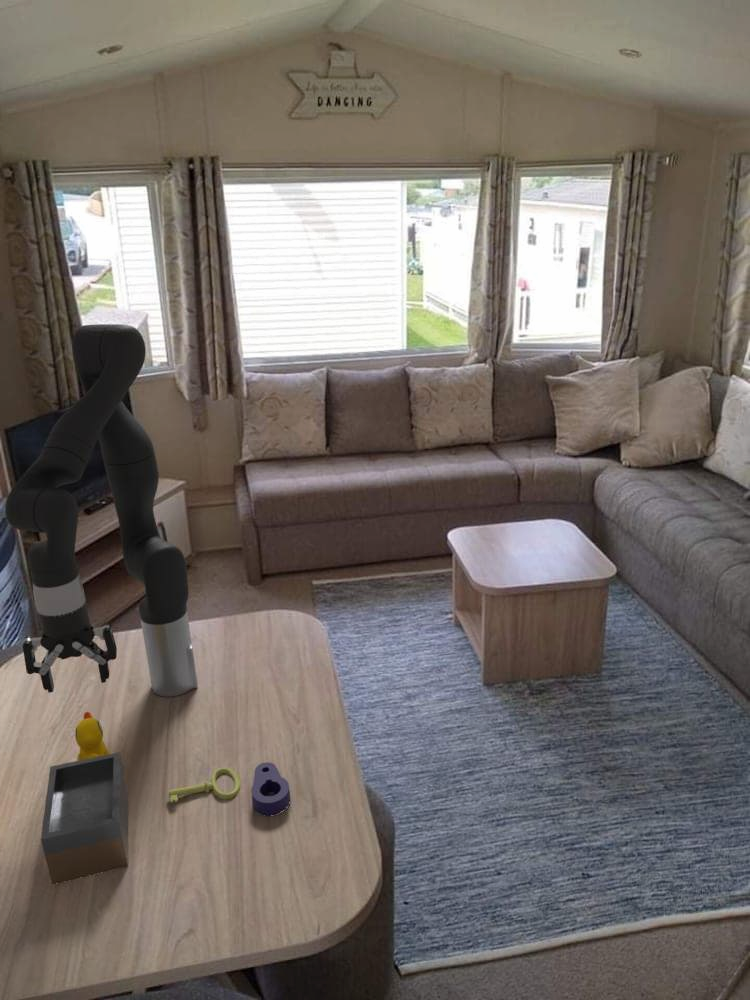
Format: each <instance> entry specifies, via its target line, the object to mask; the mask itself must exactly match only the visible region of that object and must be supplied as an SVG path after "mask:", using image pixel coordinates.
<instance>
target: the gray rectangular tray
mask: <svg viewBox="0 0 750 1000" xmlns="http://www.w3.org/2000/svg"><path fill="white" fill-rule="evenodd" d="M47 781H48V782H47V789H46V796H45V803H44V804H45V805H44V813H43V819H42V826H41V836H40V842H41V847H42V850H43V854H44V858H45V862H46V866H47V869H48V872H49V873H48V874H49V877H50V882H51V885H52V886H53V884H55V885H57V884H56V883H59V884H62V883H61V882H63V883H65V882H64V881H67V882H70V881H69V880H71V881H75V880H78V879H77V878H79V879H81V878H80V877H83V878H87V877H90V876H89V875H91V876H94V874H95V875H98V874H97V873H99V874H102V873H101V872H103V873H106V872H110V870H111V871H115V870H119V869H123V868H126V867H129V791H128V786H127V781H126V776H125V771H124V766H123V761H122V755H121V752H120V751H118V752H113V753H109V754H108V755H103V756H98V757H94V758H89V759H84V760H79V761H78V760H75V761H71V762H70V761H69V762H67V763H61V764H57V765H51V766H50V767H49V774H48V780H47ZM114 869H115V870H114ZM86 876H87V877H86ZM74 879H75V880H74Z"/></svg>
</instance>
